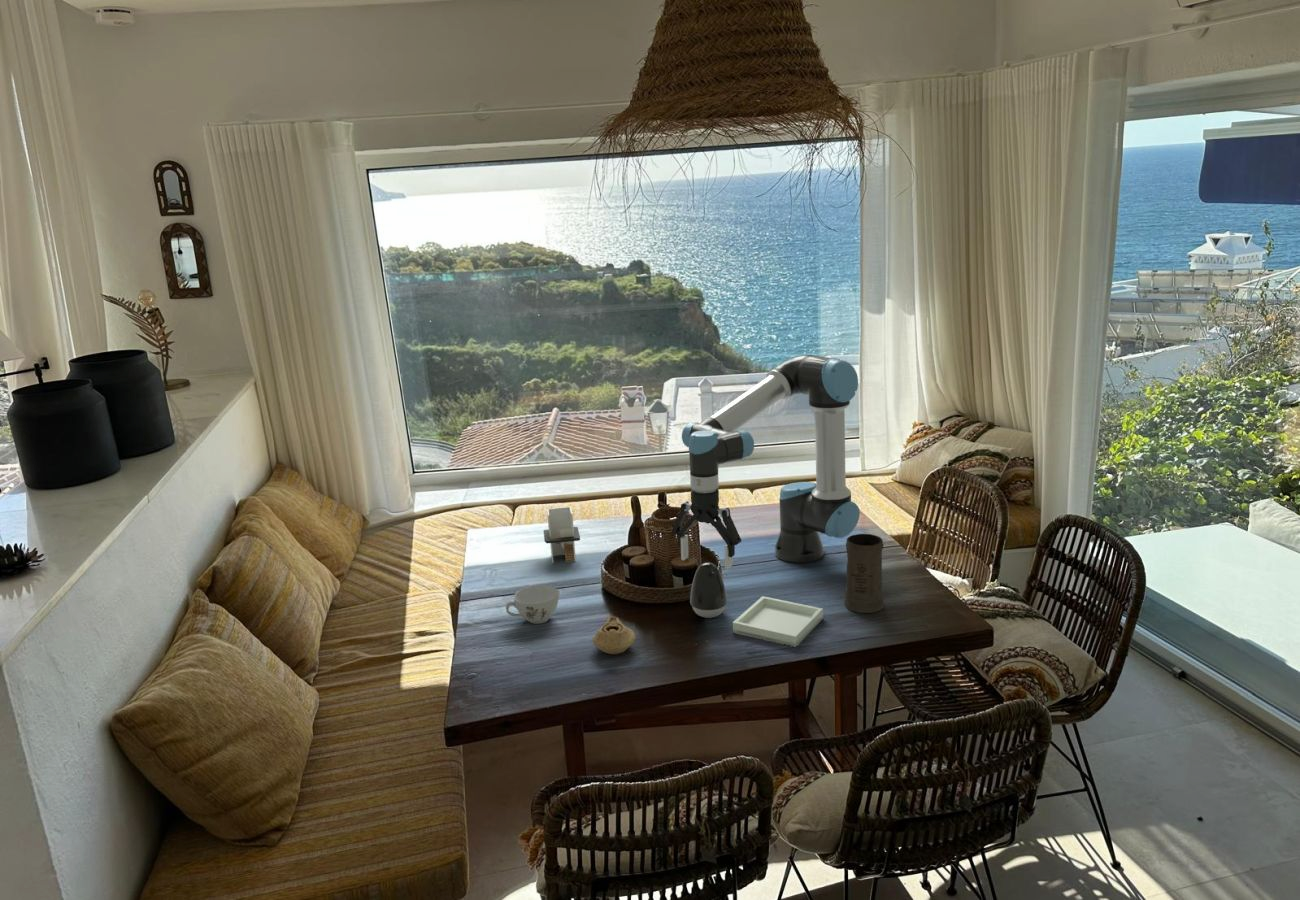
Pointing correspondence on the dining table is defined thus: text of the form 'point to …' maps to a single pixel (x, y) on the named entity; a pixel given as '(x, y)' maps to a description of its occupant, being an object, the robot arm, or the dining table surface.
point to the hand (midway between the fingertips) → (706, 563)
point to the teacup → (535, 603)
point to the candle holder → (561, 533)
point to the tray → (778, 621)
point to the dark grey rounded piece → (708, 591)
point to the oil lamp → (614, 637)
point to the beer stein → (864, 573)
